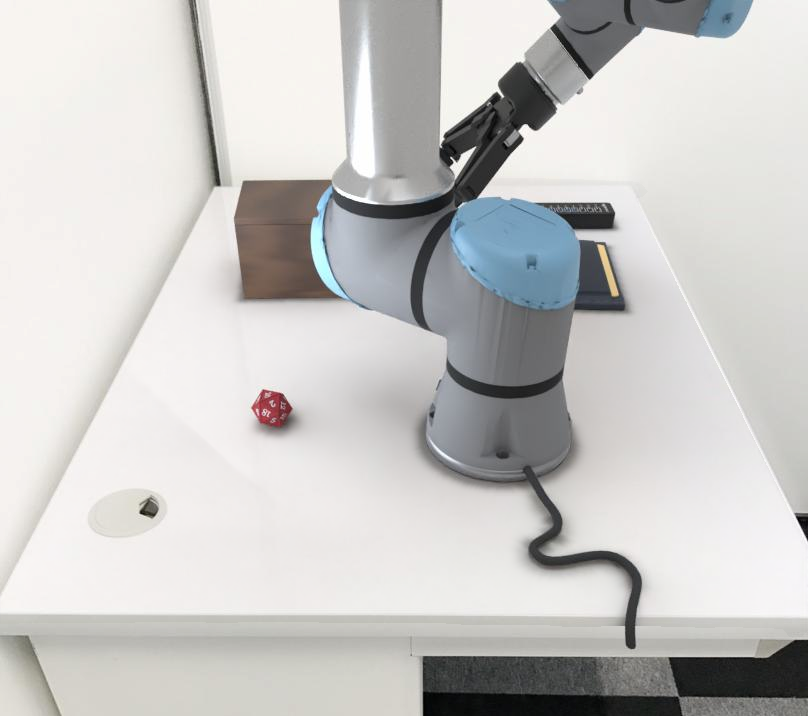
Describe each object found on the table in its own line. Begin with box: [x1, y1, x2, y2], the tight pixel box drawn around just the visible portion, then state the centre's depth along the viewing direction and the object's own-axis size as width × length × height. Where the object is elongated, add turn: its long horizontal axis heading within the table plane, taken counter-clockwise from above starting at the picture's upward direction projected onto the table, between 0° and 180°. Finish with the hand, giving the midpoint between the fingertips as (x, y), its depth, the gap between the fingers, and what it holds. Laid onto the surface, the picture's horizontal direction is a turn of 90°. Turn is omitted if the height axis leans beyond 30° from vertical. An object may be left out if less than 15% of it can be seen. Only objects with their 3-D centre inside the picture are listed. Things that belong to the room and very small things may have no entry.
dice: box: [250, 388, 293, 428], centre depth 90 cm, size 4×4×4 cm
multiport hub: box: [534, 202, 616, 229], centre depth 131 cm, size 4×14×2 cm, turn 92°
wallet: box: [574, 239, 626, 311], centre depth 118 cm, size 20×2×15 cm
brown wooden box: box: [233, 179, 342, 300], centre depth 114 cm, size 15×13×11 cm
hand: (414, 209), depth 112 cm, fingers open, 13 cm apart
